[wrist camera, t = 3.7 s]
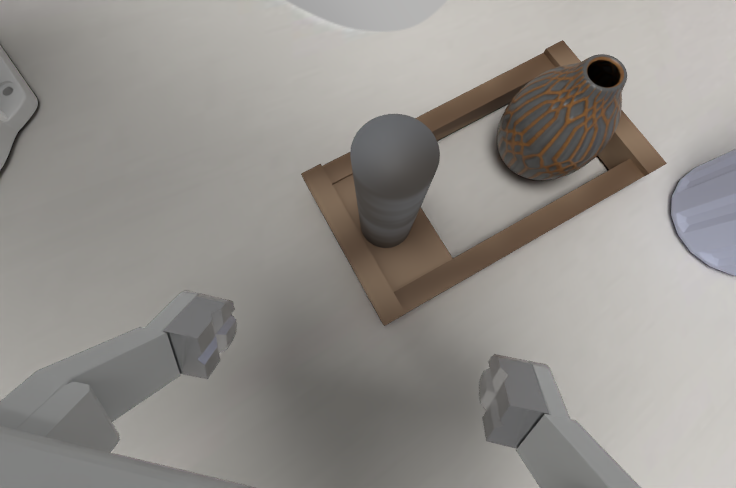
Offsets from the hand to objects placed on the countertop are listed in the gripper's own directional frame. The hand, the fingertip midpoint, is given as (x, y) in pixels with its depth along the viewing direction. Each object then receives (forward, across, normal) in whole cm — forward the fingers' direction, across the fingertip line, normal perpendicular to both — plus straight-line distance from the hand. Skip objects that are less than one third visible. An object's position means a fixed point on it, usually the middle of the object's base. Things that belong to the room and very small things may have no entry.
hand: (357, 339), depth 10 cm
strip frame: (+18, -6, +1) cm, 19 cm away
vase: (+21, -10, -2) cm, 23 cm away
